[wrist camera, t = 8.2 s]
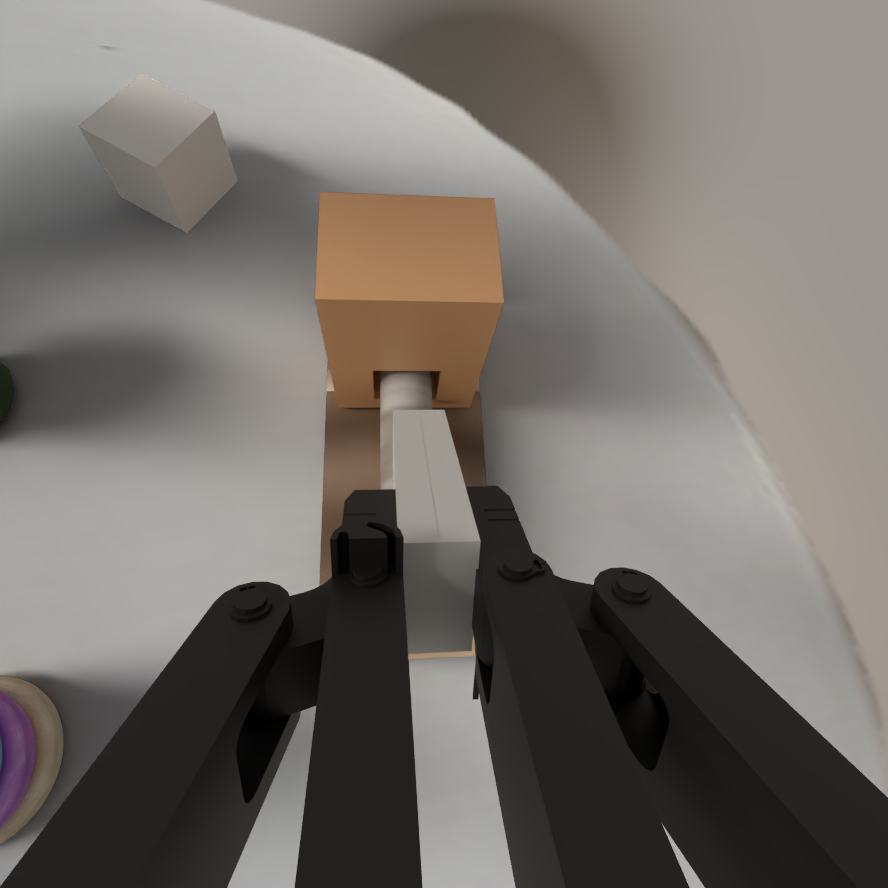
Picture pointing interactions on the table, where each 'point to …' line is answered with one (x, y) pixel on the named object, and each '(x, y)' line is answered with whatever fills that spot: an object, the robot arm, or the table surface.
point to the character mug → (5, 391)
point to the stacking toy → (26, 752)
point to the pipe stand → (387, 452)
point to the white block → (162, 151)
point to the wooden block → (407, 292)
